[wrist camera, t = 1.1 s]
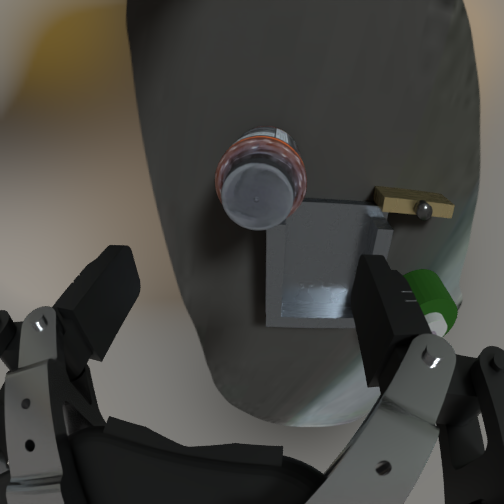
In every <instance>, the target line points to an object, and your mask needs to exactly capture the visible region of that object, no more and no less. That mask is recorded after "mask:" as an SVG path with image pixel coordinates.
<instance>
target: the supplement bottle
mask: <svg viewBox="0 0 504 504" xmlns="http://www.w3.org/2000/svg"><path fill="white" fill-rule="evenodd" d="M215 188H216V192H217V195H218V198H219V200H220V202H221V203H222V205H223V208H224V210H225V212H226V214H227V215H228V216H229V218H230V219H231V220H232V221H234V222H235V223H236V224H238V225H239V226H241V227H243V228H246V229H249V230H257V231H258V230H267V229H271V228H273V227H275V226H277V225H279V224H280V223H282V222H283V221H284V220H285V219H286V218H288V217H289V216H290V215H292V214H293V213H294V212H295V211H296V210H297V209H298V207H299V206H300V205H301V203H302V201H303V199H304V196H305V193H306V188H307V176H306V171H305V166H304V164H303V161H302V158H301V155H300V152H299V149H298V147H297V145H296V143H295V142H294V139H292V137H290V136H289V135H288V134H287V133H286V132H284V131H283V130H281V129H278V128H276V127H271V126H261V127H256V128H253V129H251V130H249V131H247V132H246V133H245V134H243V135H242V136H241V137H240V138H239V139H238V140H237V141H236V142H235V143H234V144H233V145H232V146H231V147H230V148H229V149H228V150H227V151H226V153H225V154H224V155H223V156H222V158H221V160H220V162H219V164H218V166H217V169H216V174H215Z"/></svg>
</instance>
